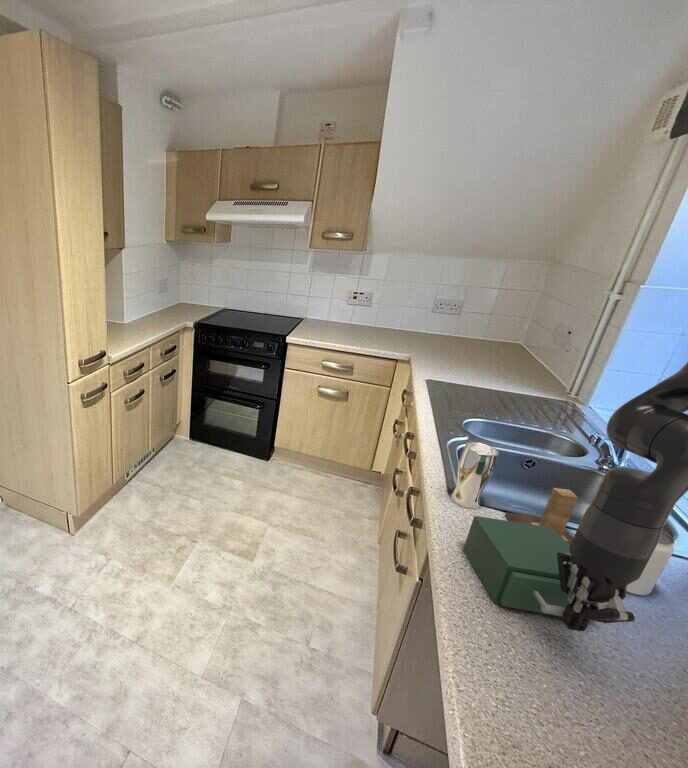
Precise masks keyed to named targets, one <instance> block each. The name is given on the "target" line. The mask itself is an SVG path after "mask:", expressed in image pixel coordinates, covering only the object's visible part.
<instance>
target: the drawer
mask: <svg viewBox="0 0 688 768" xmlns="http://www.w3.org/2000/svg"><path fill="white" fill-rule="evenodd" d="M568 581H569V580H568ZM566 597H567V593H566V592H563V591H562V590H561V587H560V579H558V578H552V577H546V576H541V575H535V574H529V573H523V572H517V571H511V572H510V575H509V577H508V580H507V582H506V585H505V587H504V590H503V592H502V595H501V597H500V600H499V601H500V603H501V604H502V605H501V606H502V607H505V608H510V609H511V608H512V609H517V610H521V611H527V612H532V613H538V614H542V615H543V614H544V615H547V616H548V615H549V616H553V617H559V618H562V617H563V612H564V610H565V609H566V606H567V604H568V602H567V600H566Z"/></svg>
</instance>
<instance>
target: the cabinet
mask: <svg viewBox="0 0 688 768" xmlns="http://www.w3.org/2000/svg"><path fill="white" fill-rule="evenodd" d="M471 522H472V523H471V524H470V528H469V530H468V534H467V537H466V539H465V542H464V546H463V548H462V552H463V553H464V554H465V556H466V558H467V560H468V562H469V563H470V565H471V567H472V568H473V570H474V572H475V574H476V575H477V577H478V579H479V581H480V583H481V584H482V586H483V588H484V590H485V591H486V593H487V594H488V596H489V598H490V600H491V602H492V603H493V604H494V605H499V606H502V604H501V603H500V601H499V600H500V597H501V595H502V592H503V590H504V587H505V585H506V582H507V580H508V577H509V575H510V572H511V571H517V572H523V573H529V574H535V575H541V576H546V577H552V578H558V579H560V578H559V569H558V560H557V553H558V552H560V553H568V554H571V553H570V550H569V547H570V546H569V544H568V543H567V542H566V541H565V540H564V539H563V538H562V537H561V536H560V535H559V534H558V533H557V531H556V530H555V529H554V528H553V527H546V526H539V525H533V524H526V523H519V522H512V521H508V520H505V519H497V518H491V517H485V516H478V515H474V516H473V518H472V521H471ZM569 569H570V568H569ZM569 578H570V576H569V577H568V580H569Z"/></svg>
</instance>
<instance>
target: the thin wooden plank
mask: <svg viewBox="0 0 688 768" xmlns="http://www.w3.org/2000/svg"><path fill="white" fill-rule="evenodd" d="M504 517H505V518H506V519H507V521H512V522H519V523H526V524H530V523H531V522H533V523H539V522H540V520H541V517H542V516H535V515H529V514H521V513H514V512H510V511H509V512H508V511H507V512H505V515H504ZM563 535H564V536H565V537H566V538H567V539H568V540H569V542H568V544H569V546H570V545H571V542H572V540H573V538H574V536H572V535H571V534H570V533H569V532H568V531H567V530H566V529H565V530H564V532H563Z"/></svg>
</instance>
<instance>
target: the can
mask: <svg viewBox="0 0 688 768" xmlns="http://www.w3.org/2000/svg"><path fill="white" fill-rule="evenodd" d="M674 544H675V539H674V537H673V536H672V535H670V534H669V533H668V532H665V531H664V530H662V532H661V536H660V540H659V542H658V544H657V546H656V548H655V550H654V552H653V553H652V555H651V557H650V559H649V561H648V563H647V565H646V567H645V568H644V570H643V572H642V574H641V576H640V578H639V579H638V580H636V581H634V582H632V583H630V584H628V585H627V587H626V593H628V594H631V595H635V596H648V595H650V594H651V593H652V591H653V589H654V587H655V585H656V583H657V582H658V581H659V578H660V577H661V575H662V573H663V572H664V570H665V568H666V566H667V564H668V563H669V561H670V559H671V557H672V556H673V554H674V551H675V546H674Z"/></svg>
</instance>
